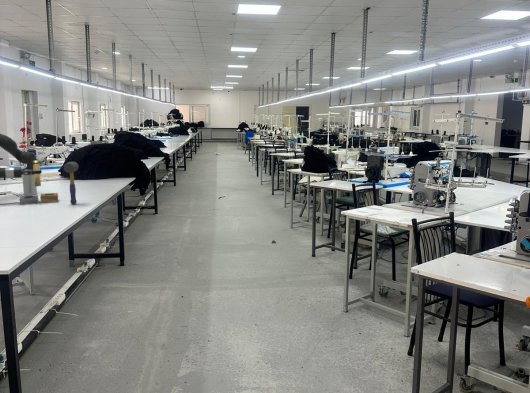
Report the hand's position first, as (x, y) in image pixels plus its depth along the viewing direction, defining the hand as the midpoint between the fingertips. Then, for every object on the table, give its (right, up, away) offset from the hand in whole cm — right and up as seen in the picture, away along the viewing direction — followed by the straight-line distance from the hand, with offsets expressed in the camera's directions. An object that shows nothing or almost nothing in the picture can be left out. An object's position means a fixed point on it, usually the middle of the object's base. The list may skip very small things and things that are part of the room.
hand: (41, 171), depth 306 cm
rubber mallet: (+25, -23, -4) cm, 34 cm away
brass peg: (-3, -10, +1) cm, 10 cm away
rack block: (+3, -21, +6) cm, 22 cm away
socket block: (-8, -22, 0) cm, 24 cm away
